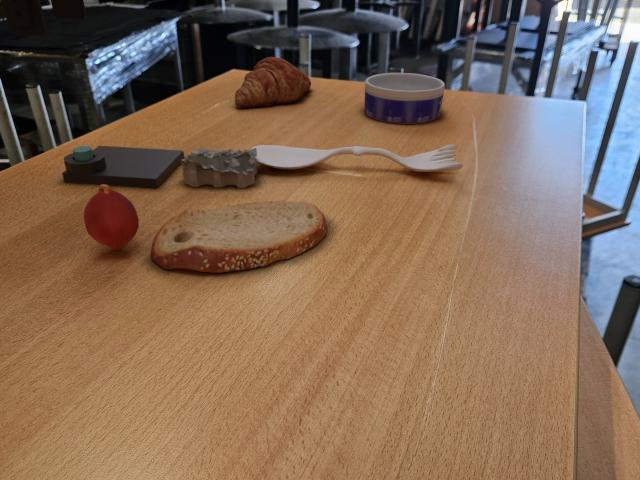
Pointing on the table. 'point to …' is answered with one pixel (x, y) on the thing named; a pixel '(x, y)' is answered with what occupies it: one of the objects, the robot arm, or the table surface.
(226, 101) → the table surface
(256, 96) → the pastry
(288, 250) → the bread slice
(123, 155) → the scale
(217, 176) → the egg carton
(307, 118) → the table surface
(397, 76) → the dog bowl
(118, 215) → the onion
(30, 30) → the robot arm
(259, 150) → the white plastic spork
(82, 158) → the button
